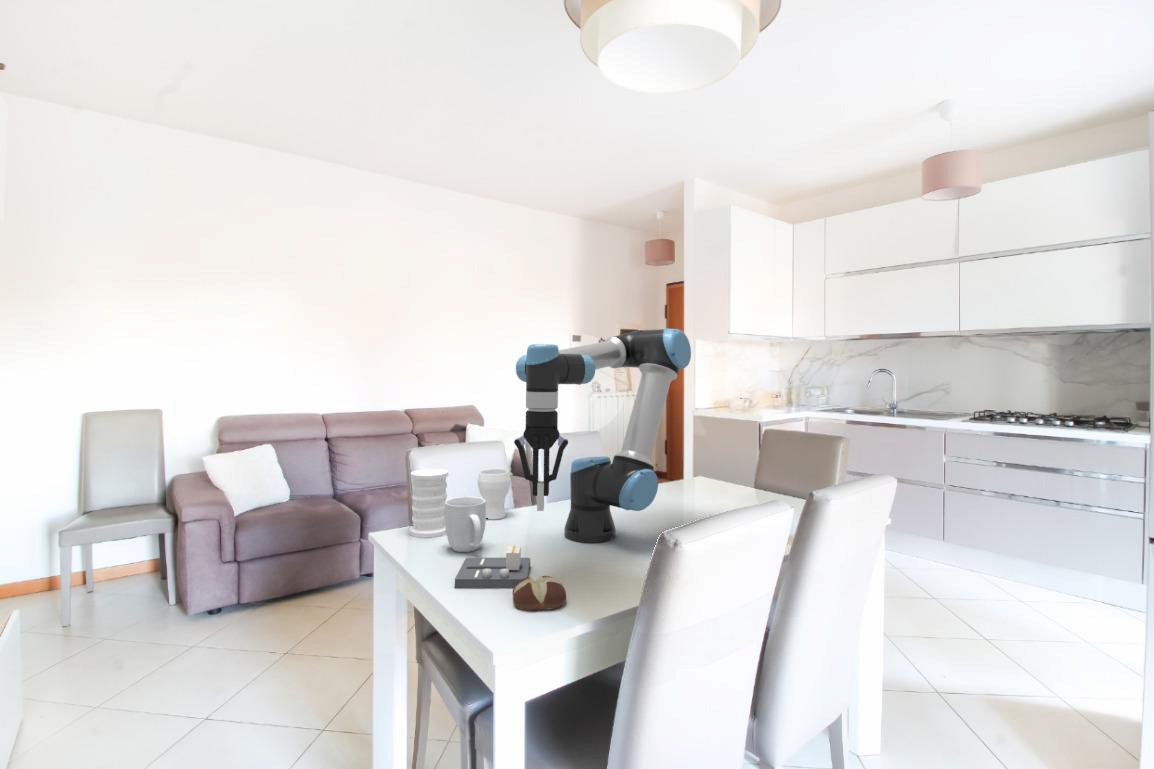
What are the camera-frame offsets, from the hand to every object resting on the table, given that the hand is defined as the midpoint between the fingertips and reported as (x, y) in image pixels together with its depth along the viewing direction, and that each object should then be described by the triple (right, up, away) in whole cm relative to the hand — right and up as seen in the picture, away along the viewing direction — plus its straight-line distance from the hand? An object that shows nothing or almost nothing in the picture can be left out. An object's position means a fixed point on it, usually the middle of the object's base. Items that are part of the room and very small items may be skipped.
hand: (540, 509), depth 130 cm
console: (-11, -16, 0) cm, 19 cm away
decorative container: (-36, -15, +35) cm, 52 cm away
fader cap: (-6, -14, 0) cm, 15 cm away
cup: (-19, -14, +52) cm, 58 cm away
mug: (-21, -16, +19) cm, 33 cm away
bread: (+1, -17, -13) cm, 21 cm away
